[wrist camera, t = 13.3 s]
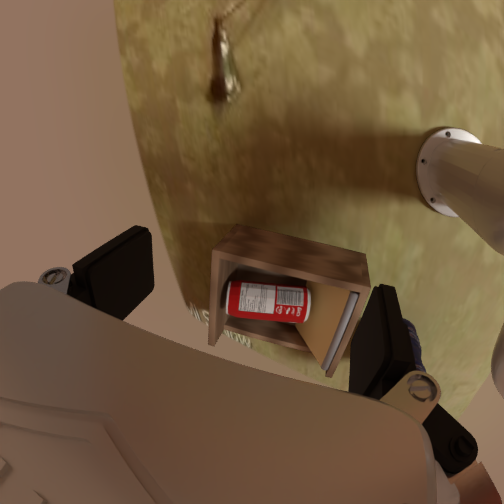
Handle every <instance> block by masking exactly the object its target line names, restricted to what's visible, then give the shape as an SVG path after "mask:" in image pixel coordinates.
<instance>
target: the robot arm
mask: <svg viewBox="0 0 504 504" xmlns="http://www.w3.org/2000/svg"><path fill="white" fill-rule="evenodd" d="M445 133H447V136H446V135H445ZM422 159H423V160H424V162H421V160H422ZM416 177H417V182H418V186H419V189H420V191H421V193H422V195H423V197H424V198H425V200H426V201H427V202H428V203H429V205H430V206H431V207H433V208H434V209H435V210H436V211H438V212H439V213H441V214H443V215H446V216H449V217H460V218H461V219H462V220H463V221H464V222H466V223H467V224H468V225H469V226H470V227H471V228H472V229H473V230H474V231H475V232H476V233H477V234H478V235H479V236H480V237H481V238H482V239H483V240H484V241H486V242H487V243H488V244H489V245H490V246H491V247H492V248H493V249H494V250H495V251H497V252H498V253H500V254H502V255H504V149H502V148H497V147H493V146H489V145H484V144H482V143H481V142H480V141H479V139H477V138H476V137H475V136H474V135H473V134H471V133H469V132H468V131H466V130H463V129H459V128H444V129H441V130H438V131H436V132H435V133H433V134H432V135H431V136H429V137H428V138H427V139H426V141H425V142H424V144H423V145H422V147H421V149H420V151H419V154H418V158H417V163H416ZM431 198H433V199H432V200H430V199H431ZM72 266H73V271H74V273H73V274H71V273H70V271H69V270H68V269H67V268H64V267H56V268H52V269H49V270H47V271H45V272H44V273H43V274H42V275H41V276H40V278H39V280H38V283H35V282H14V283H12V284H10V285H8V286H6V287H4V288H3V289H1V290H0V504H502V500H501V497H500V495H499V493H498V491H497V489H496V487H495V485H494V483H493V482H492V480H491V478H490V476H489V474H488V472H487V471H486V469H485V467H484V466H483V464H482V462H480V463H477V461H476V460H475V459H476V457H477V453H478V447H477V443H476V440H475V438H474V437H473V436H472V435H471V434H470V433H469V432H468V431H467V430H466V429H465V428H464V427H463V426H462V425H461V424H460V423H459V422H457V421H456V420H455V419H454V418H453V417H452V416H451V415H450V414H449V413H448V412H447V411H446V410H444V409H443V408H442V407H441V406H440V405H439V404H438V401H439V399H440V397H441V389H440V386H439V384H438V382H437V381H436V380H435V379H434V378H433V377H432V376H431V375H429V374H427V373H425V372H422V371H417V369H416V364H415V358H414V353H413V348H412V343H411V339H410V334H409V330H408V326H407V324H405V323H403V319H402V314H401V310H400V306H399V302H398V298H397V294H396V290H395V287H393V286H388V285H384V284H380V285H379V287H376V286H375V287H374V288H373V291H372V293H371V296H370V299H369V301H368V304H367V306H366V308H365V311H364V313H363V316H362V318H361V321H360V323H359V325H358V328H357V330H356V332H355V334H354V337H353V339H352V342H351V353H350V376H349V392H347V391H343V390H338V389H334V388H330V387H325V386H321V385H317V384H313V383H309V382H304V381H300V380H296V379H292V378H288V377H284V376H280V375H276V374H273V373H269V372H265V371H262V370H258V369H255V368H252V367H248V366H245V365H241V364H238V363H235V362H232V361H228V360H225V359H222V358H219V357H216V356H213V355H210V354H207V353H204V352H201V351H199V350H196V349H193V348H190V347H187V346H185V345H182V344H179V343H176V342H174V341H171V340H169V339H166V338H163V337H161V336H158V335H156V334H153V333H151V332H148V331H146V330H143V329H141V328H139V327H136V326H134V325H131V324H129V323H127V322H124V321H123V320H124V319H125V318H126V317H127V316H128V315H129V314H130V313H131V312H132V311H133V310H134V309H135V308H136V307H137V306H138V305H139V304H140V303H141V302H142V301H143V300H144V299H145V298H146V297H147V296H148V295H149V294H150V293H151V292H152V290H153V288H154V271H153V255H152V235H151V233H150V232H149V230H148V228H146V227H141V226H137V225H135V226H133V227H131V228H130V229H128V230H126V231H125V232H123V233H121V234H120V235H119V236H116V237H115V238H113V239H112V240H110V241H108V242H107V243H105V244H104V245H102V246H100V247H99V248H97V249H96V250H94V251H93V252H91V253H90V254H88V255H86V256H85V257H83V258H82V259H81V260H79V261H77V262H76V263H74V264H73V265H72ZM491 372H492V378H493V381H494V384H495V386H496V388H497V390H498V392H499V393H500V394H501V396H502V397H503V398H504V323H503V326H502V328H501V331H500V333H499V336H498V339H497V341H496V344H495V347H494V350H493V354H492V360H491Z"/></svg>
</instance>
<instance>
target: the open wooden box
mask: <svg viewBox="0 0 504 504" xmlns="http://www.w3.org/2000/svg"><path fill="white" fill-rule="evenodd" d="M237 280H245V281H255V282H265V283H276V284H286V285H297V286H306V283H307V280H309V281H313V282H317V283H321V284H326V285H330V286H334V287H338V288H343V289H347V290H351V291H355V292H359V296H358V299H357V302H356V304H355V307H354V309H353V312H352V315H351V317H350V320H349V322H348V325H347V327H346V329H345V332H344V334H343V337H342V339H341V341H340V344H339V346H338V348H337V351H336V353H335V355H334V357H333V360H332V362H331V364H330V366H329V368H328V370H326V375H325V377H330V378H332V376H333V374H334V372H335V370H336V368H337V366H338V363H339V361H340V359H341V357H342V355H343V353H344V351H345V349H346V346H347V344H348V342H349V340H350V337H351V335H352V333H353V331H354V328H355V326H356V324H357V321H358V319H359V316H360V314H361V312H362V309H363V307H364V304H365V302H366V299H367V296H368V294H369V291H370V289H371V285H370V278H369V272H368V265H367V259H366V254H364V253H359V252H355V251H351V250H347V249H343V248H339V247H335V246H331V245H326V244H322V243H318V242H314V241H309V240H305V239H301V238H296V237H292V236H288V235H283V234H279V233H274V232H270V231H266V230H261V229H257V228H252V227H247V226H243V225H238V224H236V226H235V227H234V228H233V229H232V230H231V231H230V232H229V233H228V234H227V235H226V236H225V237H224V238H223V239H222V240H221V241H220V242H219V243H218V244H217V245H216V246H215V247H214V248H213V249H212V262H211V281H210V304H209V334H208V337H209V338H208V344H209V345H211V346H215V344H216V342H217V340H218V339H219V337H220V335H221V334H222V332H223V330H224V329H225V330H228V331H232V332H235V333H238V334H242V335H245V336H249V337H252V338H256V339H259V340H263V341H267V342H271V343H274V344H278V345H282V346H286V347H290V348H294V349H298V350H302V351H306V352H310V353H312V352H311V350H310V349H309V347H308V345H307V344H306V342H305V341H304V339H303V338H302V336H301V335H300V333H299V331H298V330H297V328H296V327H295V324H296V323H293V322H280V321H269V320H258V319H248V318H238V317H234V316H232V315H229V314H226V300H227V291H228V285H229V282H230V281H237Z"/></svg>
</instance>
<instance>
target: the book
mask: <svg viewBox="0 0 504 504" xmlns="http://www.w3.org/2000/svg"><path fill="white" fill-rule="evenodd" d="M306 287H307V288H308V289H309V290H310V294H311V305H310V312H309V316H308V319H307V320H306V321H304V322H303V323H296V324H295V327H296V328H297V330H298V331H299V333H300V335H301V336H302V338H303V339H304V341H305V342H306V344H307V345H308V347H309V349H310V350H311V352H312V353H313V355H314V356H315V358H316V360H317V361H318V363H319V364H320V366H321V368H322V369H323V370H328V368H329V366H330V364H331V362H332V360H333V357H334V355H335V353H336V351H337V348H338V346H339V344H340V341H341V339H342V337H343V334H344V332H345V329H346V327H347V325H348V322H349V320H350V317H351V315H352V312H353V309H354V307H355V304H356V302H357V299H358V296H359V292H355V291H351V290H347V289H343V288H338V287H334V286H330V285H326V284H321V283H317V282H313V281H309V280H307V283H306Z"/></svg>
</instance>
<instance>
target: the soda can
mask: <svg viewBox="0 0 504 504" xmlns="http://www.w3.org/2000/svg"><path fill="white" fill-rule="evenodd" d="M310 305H311V294H310V290H309V289H308V288H307V287H306V286H297V285H286V284H276V283H265V282H255V281H245V280H237V281H230V282H229V285H228V291H227V300H226V314H229V315H232V316H234V317H238V318H248V319H258V320H269V321H280V322H293V323H303V322H304V321H306V320H307V319H308V316H309V312H310Z"/></svg>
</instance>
